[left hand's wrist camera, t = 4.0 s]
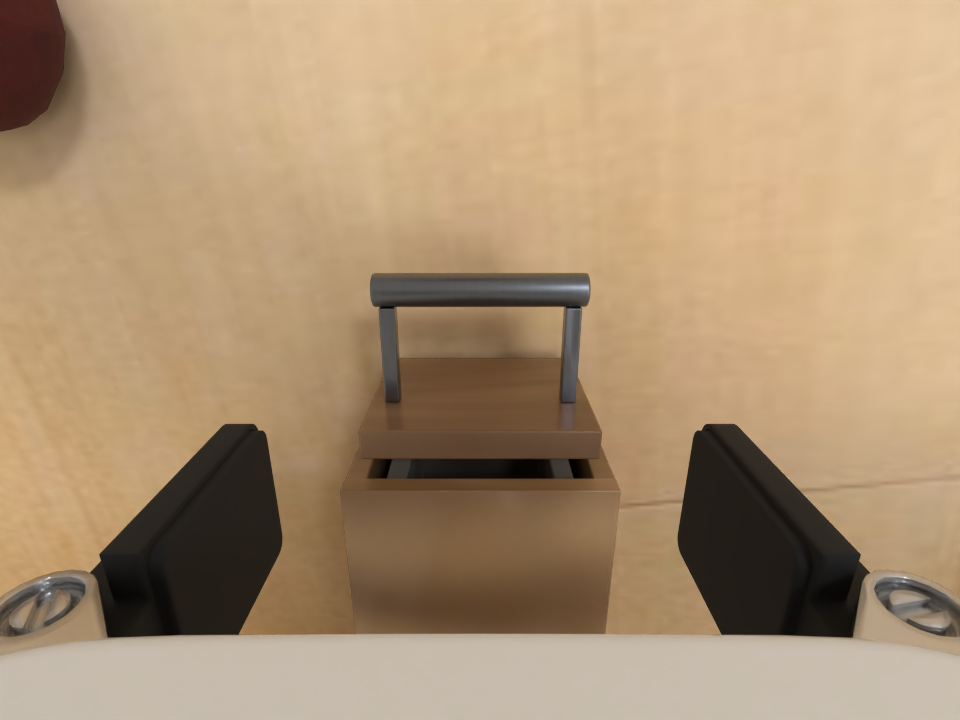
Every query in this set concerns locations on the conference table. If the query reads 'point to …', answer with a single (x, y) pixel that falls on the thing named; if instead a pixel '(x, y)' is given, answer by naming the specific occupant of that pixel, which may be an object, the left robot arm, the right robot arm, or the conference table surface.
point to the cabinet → (480, 551)
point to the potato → (29, 59)
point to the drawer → (480, 387)
